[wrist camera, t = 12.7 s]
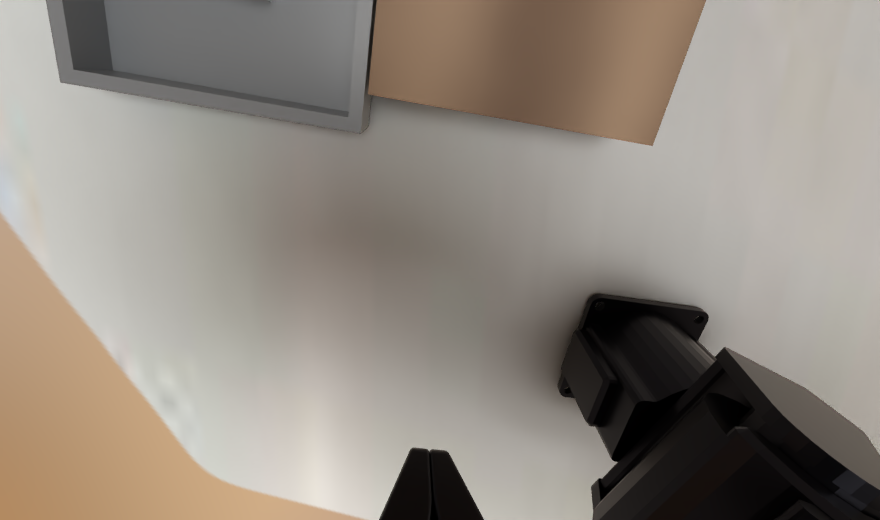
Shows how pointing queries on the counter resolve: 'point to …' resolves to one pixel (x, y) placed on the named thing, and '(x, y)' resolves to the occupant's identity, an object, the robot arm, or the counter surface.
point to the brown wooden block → (537, 60)
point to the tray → (225, 54)
